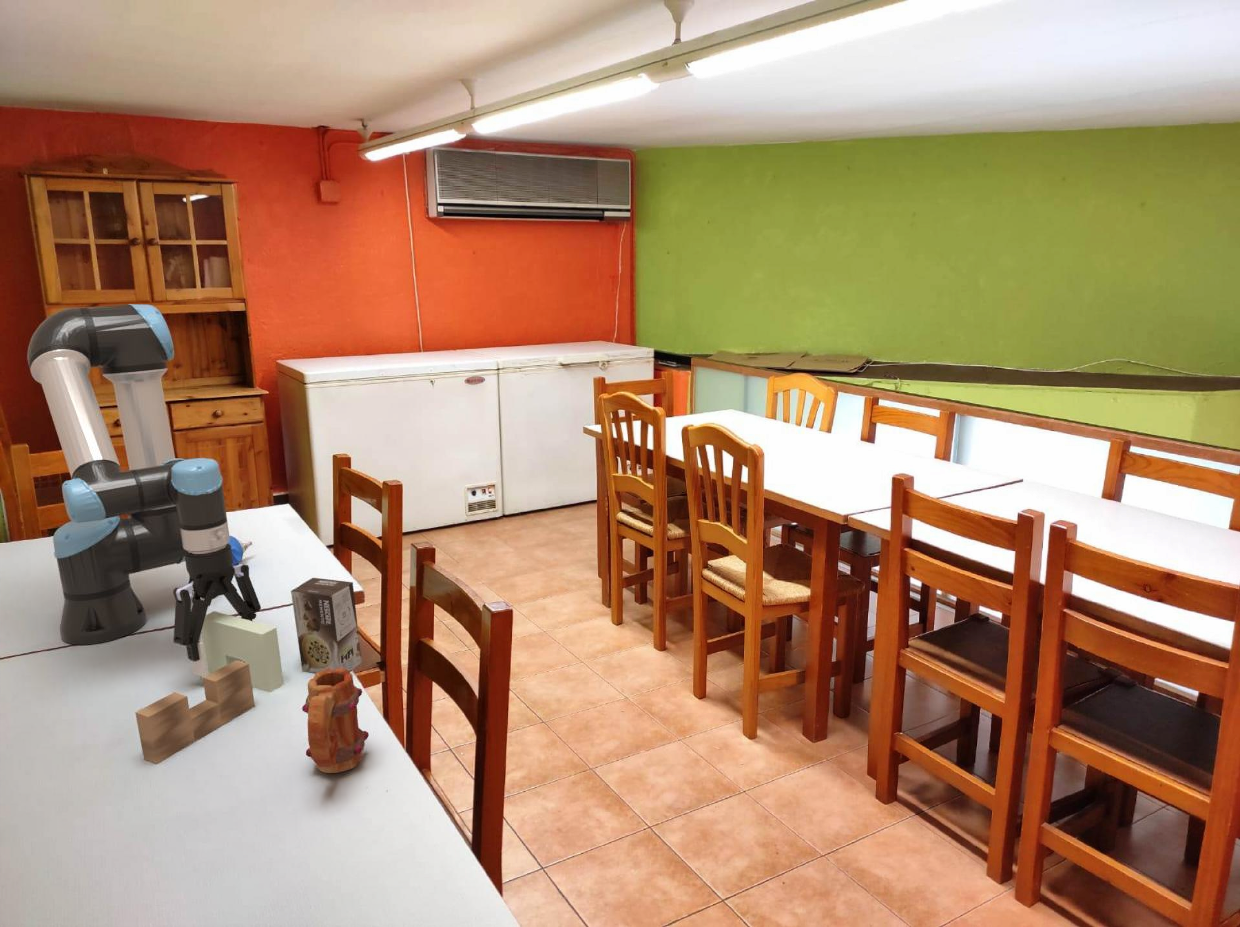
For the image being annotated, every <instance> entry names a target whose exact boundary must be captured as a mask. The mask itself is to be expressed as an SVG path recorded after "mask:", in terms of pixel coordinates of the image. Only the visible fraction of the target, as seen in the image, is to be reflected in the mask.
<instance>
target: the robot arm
mask: <svg viewBox="0 0 1240 927" xmlns="http://www.w3.org/2000/svg"><path fill="white" fill-rule="evenodd" d="M174 348H175V347H174V342H173V339H172V335H171V331H170V329H169V327H168V323H167V322H166V320H165V318H164V316H163V314H162V313H161V311H160V310H159V309H158V308H157V307H155V306H154V305H152V304H134V303H133V304H131V303H129V304H118V305H106V306H105V305H102V306H87V307H77V306H76V307H69V308H65V309H61V310H58V311H57V312H55V313H52V314H50V315H49V316H48V317H47V318H46V319H44V321H42V322H41V323H40V324H39V325H38V327H37V328H36V330H35V331H34V332H33V334H32V336H31V338H30V341H29V345H28V347H27V363H28V368H29V371H30V374H31V377H32V378H33V379H34V380H35V381H36V382H37V383H39V384H40V385H41V387H42V390H43V393H44V395H45V396H44V397H45V399H46V403H47V405H48V408H49V409H48V410H49V413H50V415H51V417H52V418H51V419H52V421H53V424H54V428H55V431H56V433H57V434H56V435H57V437H58V440H59V443H60V446H61V449H62V453H63V455H64V459H65V463H66V466H67V469H68V472H69V474H70V478H71V479H70V480H65V481H64V482H63V483H62V486H61V491H62V498H63V502H64V506H65V510H66V513H67V517H68V518H69V520H70V521H68V522H66V523H65V524H63V525H62V526H60V527H59V528H57V530H56V531H55V532H54V534H53V538H52V539H53V540H52V542H53V546H54V547H53V548H54V553H53V556H54V558H56V562H57V568H58V573H59V578H60V583H61V584H60V585H61V589H62V594H63V599H64V602H63V608H62V612H61V617H60V618H61V619H60V624H59V632H60V637H61V640H62V641H63V642H64V643H66V644H71V645H77V646H78V645H93V644H102V643H104V642H110V641H114V640H117V639H120V638H122V637H123V638H124V637H126V636H128V635H130V634H133V633H134V632H136V631H138V630H139V629H141V628H142V627H143V626H144V625H145V624H146V622H147V619H148V618H147V615H146V609H145V607H144V605H143V604H142V602H141V600H140V599H139V597H138V595H137V594H136V593H135V591H134V589H133V588H132V586H131V580H130V575H132V574H135V573H141V572H145V571H148V570H149V571H150V570H153V569H157V568H162V567H167V566H172V565H180V564H182V563H183V562H185V568H186V571H187V573H188V575H189V579H188V582H187V583H188V584H186V585H184V586H182V587H175V588H173V596H174V600H175V606H174V607H175V610H174V612H175V613H174V625H173V626H174V627H173V643H174V644H177V645H180V646H184V647H186V653H187V659H188V660H189V661H191V662H192V666H193V671H194V675H196V676H199V677H202V678H203V677H205V676H207V675H209V674H210V673H208V667H207V661H206V655H205V648H204V642H203V641H200V637H201V635H202V627H203V623H204V620H205V616H206V615H207V612H208V609H209V607H210V606H211V604H212V601H213V600H214V599H216V598H217V597H219V596H224V597H225V599H226V600H227V601H228V603H229V604H230V605H231V606H232V608H233V609H234V610H235V611H236V613H237V614H238V615H239V617H240V618H242V619H246V620H249V621H253V620H255V619H257V613H256V612H260V611H261V609H262V607H261V604H260V601H259V599H258V596H257V593H256V591H255V588H254V586H253V583H252V580H251V577H250V567H249V565H248V564H243V563H237V564H235V566H232V564H233V556H232V549H231V545H230V544H229V541H230V536H231V535H230V530H229V523H228V517H227V508H226V502H225V496H224V487H223V480H224V478H223V475H221V469H220V466H219V463H218V461H217V460H215V459H213V458H205V457H198V458H189V459H185V458H176V455H175V450H174V445H173V440H172V433H171V428H170V422H169V417H168V411H167V406H166V400H165V395H164V389H163V388H164V387H163V383H162V378H163V376H164V374H165V373H166V372H168V365H167V364H168V363H167V362H170V361H171V360H173V359H174V357H175V350H174ZM99 367H100V368H101V373H102V374H101V375H102V376H103V377H104V378H106V379H107V380H108V381H109V382H112V385H113V389H114V395H115V400H116V406H117V410H118V414H119V415H118V416H119V422H120V426H121V432H122V437H123V443H124V448H125V452H126V458H127V463H128V469H129V470H124V471H122V469H121V465H120V461H119V458H118V457H117V454H116V451H115V448H114V445H113V442H112V440H111V439H112V438H111V436H110V434H109V433H110V432H109V431H108V428H107V425H106V422H105V420H104V417H103V415H102V410H101V408H100V405H99V403H98V400H97V397H96V394H95V392H94V391H95V390H94V389H93V386H92V383H91V380H90V378H89V374H90V372H91V368H99ZM124 515H128V516H127V517H121V516H124ZM120 517H121V518H120ZM233 578H234V579H235V581H236V584H237V586H238V589H239V592H240V594H241V595H240V594H239V592H238V589H237V588H236V586H235V585H234V584H233V583H232V582H233ZM192 593H193V594H192ZM191 598H192V599H191ZM253 622H254V621H253Z"/></svg>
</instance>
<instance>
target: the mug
mask: <svg viewBox="0 0 1240 927" xmlns="http://www.w3.org/2000/svg"><path fill="white" fill-rule="evenodd" d="M307 691H308V692H307V694H308V695H307V697H306V699H305V703H304V704H303V705H302V707H301V710H302V712H304V713H306V714H307V742H308V746H309V747H308V748H307V749H306V751H305V756H307V757H309V758H311V760H313V762H314V763H315V765H316V768H317V770H319V771H321V772H322V773H326V774H330V773H331V774H333V773H334V774H337V773H343V772H346V771H349V770H351V769H355V767H357V766H358V765H359V764H360V762H361V760H362V752H363V750H364V749H365V746H366V745H365V744H366V743H365V742H366V741H367V740H368V738H369V735H370V734H369V731H366V730H362V729H361V728H360V726H359V720H358V704H359V702H360V697H361V695H362V694H363V689H362V688H358V687H357V686H356V685H355V683H354V678H353V674H352V673H351V671H350V672H349V671H348V670H346V669H341V668H335V669H334V670H332V671H331V670H330V669H329V668H328V669H326V670H323V671H321V672H318V673H314V675H313V678H310V679H309V680H308V682H307Z"/></svg>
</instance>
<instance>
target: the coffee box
mask: <svg viewBox="0 0 1240 927" xmlns="http://www.w3.org/2000/svg"><path fill="white" fill-rule="evenodd" d="M354 590H355V589H354V581H353V582H351V581H346V580H335V579H328V578H327V579H326V578H317V577H312V578H309V579H308V580H306V581H304V582H303V583H302V584H300V585H298V586H297V587H295V588H294V589H291V590H290V594H291V600H292V606H293V607H292V608H293V614H294V620H295V621H294V622H295V628H296V630H295V631H296V635H297V642H298V643H297V644H298V648H299V649H298V651H299V657H300V664H301V670H302V672H308V673H314V674H316V673H318V672H321V671H323V670H326V669H328V668H329V669H330V670H331V671H332V670H334V669H335V668H341V669H346V670H348V671H349V672H350V673H351V671H352V670H353V669H355V668H357V666H359V665H361V663H362V656H361V655H362V653H361V646H360V635H359V627H358V626H359V625H358V618H357V608H356V600H355V591H354Z"/></svg>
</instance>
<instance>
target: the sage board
mask: <svg viewBox="0 0 1240 927" xmlns="http://www.w3.org/2000/svg"><path fill="white" fill-rule="evenodd" d="M201 635H202V642H203V643H204V649H205V655H206V662H207V668H208V674H210V673H212V672H214V671H216V670H218V669H220V668H222V667H224V666H226V665H228V664H230V663H232V662H234V661H236V660H238V661H241V662H242V661H243V662H245V663H248V664H249V669H250V675H251V682H252V688H255V689H259V690H262V691H265V692H269V693H271V692H273V691H275V690H276V689H279V688H280V687H282V686H283V685H285V682H284V675H283V668H282V661H281V659H282V658H281V653H280V647H279V638H278V631H277V627H275V626H272V625H269V624H265V623H260V622H258V621H257V622H256V621H249V620H246V619H242V618H241V617H238V616H234V615H231V614H230V615H229V614H227V613H226V614H225V613H222V612H218V611H212V612H209V613H206V616H205V620H204V623H203V627H202V631H201Z"/></svg>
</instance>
